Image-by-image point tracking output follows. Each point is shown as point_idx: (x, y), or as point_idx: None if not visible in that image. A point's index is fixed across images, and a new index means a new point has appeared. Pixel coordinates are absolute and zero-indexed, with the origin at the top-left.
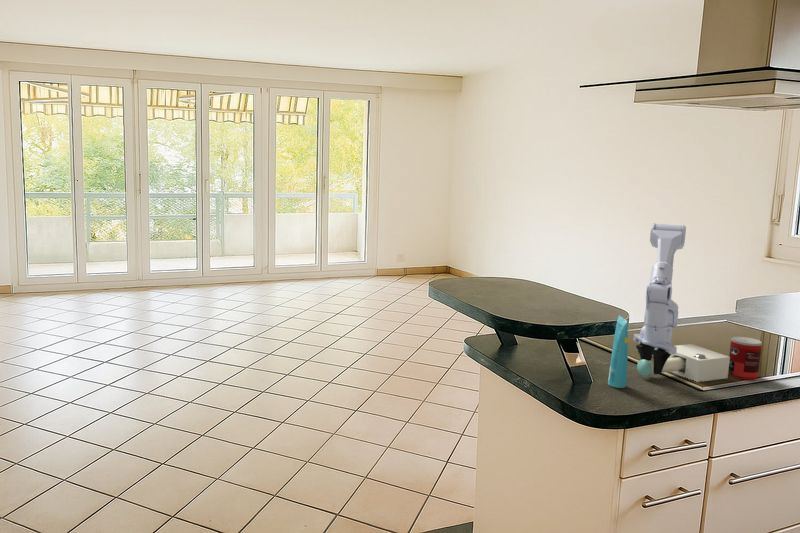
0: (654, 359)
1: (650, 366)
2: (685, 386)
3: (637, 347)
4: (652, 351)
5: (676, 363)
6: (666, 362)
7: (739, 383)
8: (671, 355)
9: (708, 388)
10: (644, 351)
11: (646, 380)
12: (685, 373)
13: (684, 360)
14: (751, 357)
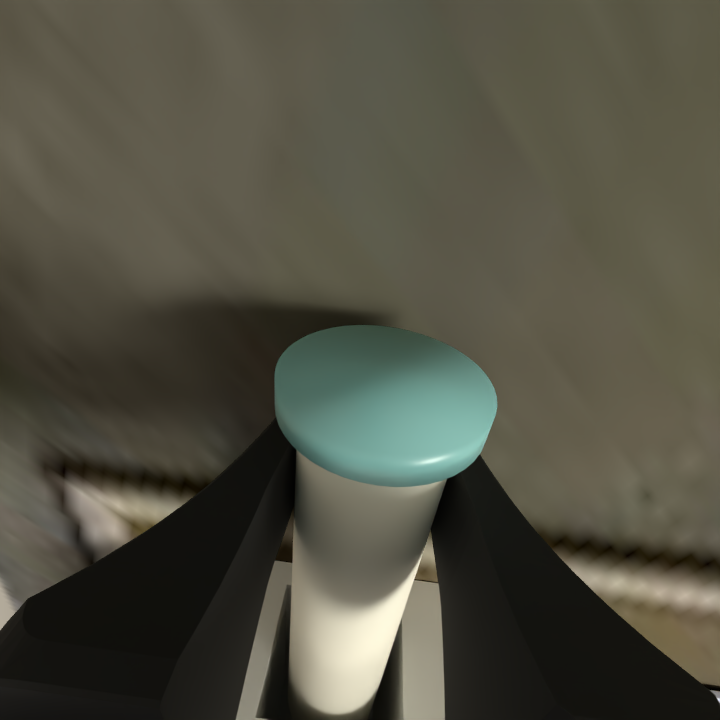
0: (227, 524)
1: (278, 410)
2: (143, 453)
3: (672, 693)
4: (139, 669)
5: (292, 638)
6: (304, 603)
7: None
8: (411, 716)
9: (93, 522)
10: (495, 642)
11: (345, 319)
12: (280, 589)
13: (297, 696)
14: None
